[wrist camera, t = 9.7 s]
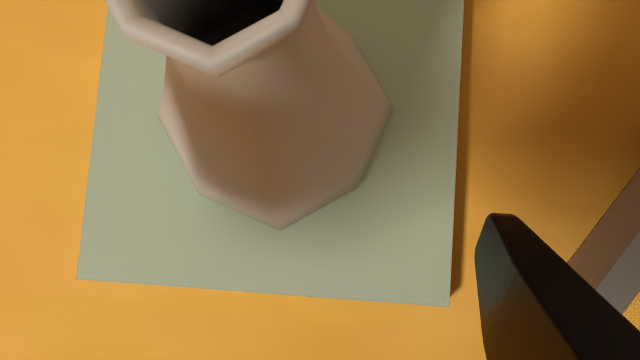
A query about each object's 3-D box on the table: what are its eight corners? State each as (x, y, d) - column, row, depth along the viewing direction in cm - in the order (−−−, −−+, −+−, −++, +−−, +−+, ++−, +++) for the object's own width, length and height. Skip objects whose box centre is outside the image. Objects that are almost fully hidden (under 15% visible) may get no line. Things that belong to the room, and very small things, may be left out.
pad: (443, 303, 17) (449, 307, 16) (87, 276, 17) (76, 279, 16) (460, -38, 18) (466, -51, 17) (126, -61, 18) (117, -74, 17)
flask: (271, -33, 17) (198, -407, 7) (431, 108, 16) (601, -76, 6) (122, 121, 16) (-188, -41, 6) (282, 271, 16) (217, 347, 6)
